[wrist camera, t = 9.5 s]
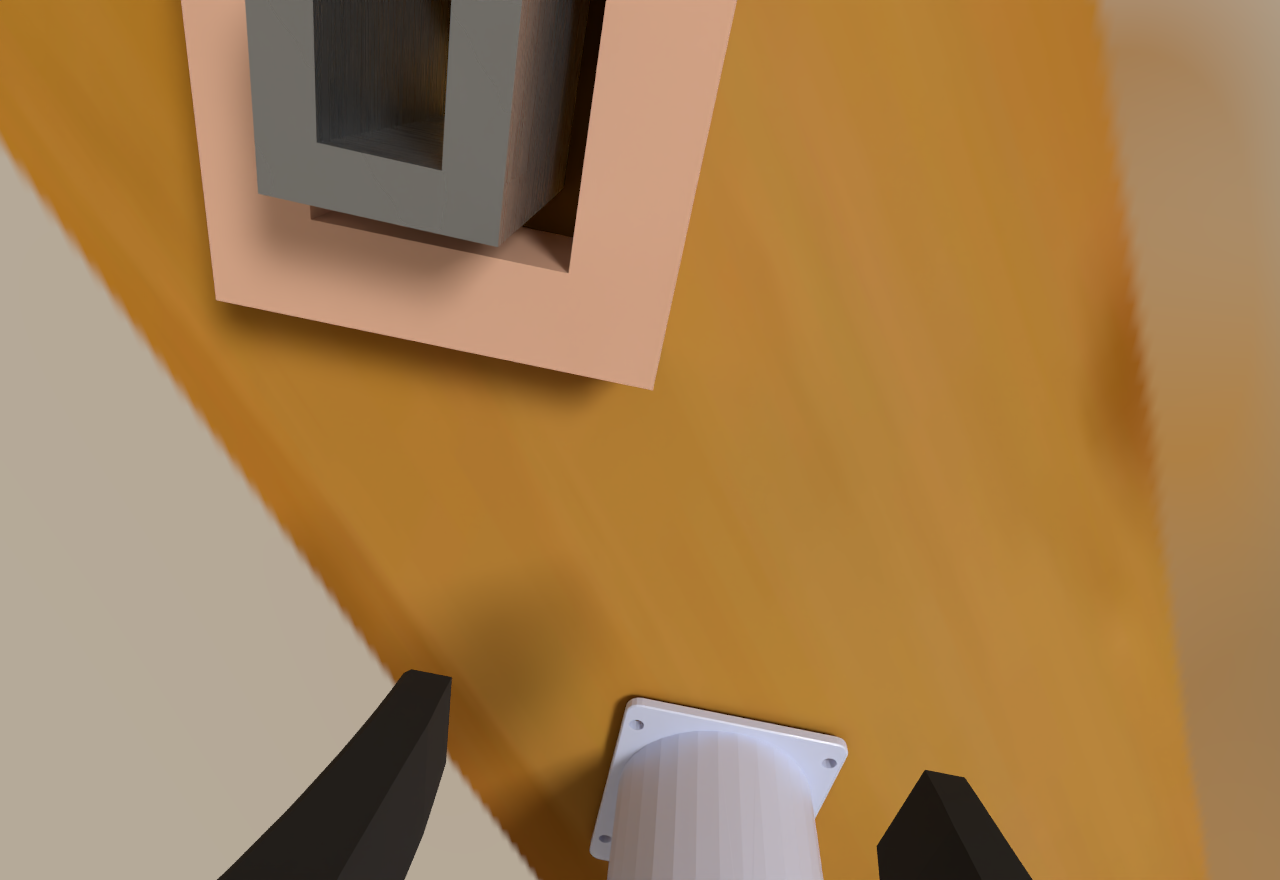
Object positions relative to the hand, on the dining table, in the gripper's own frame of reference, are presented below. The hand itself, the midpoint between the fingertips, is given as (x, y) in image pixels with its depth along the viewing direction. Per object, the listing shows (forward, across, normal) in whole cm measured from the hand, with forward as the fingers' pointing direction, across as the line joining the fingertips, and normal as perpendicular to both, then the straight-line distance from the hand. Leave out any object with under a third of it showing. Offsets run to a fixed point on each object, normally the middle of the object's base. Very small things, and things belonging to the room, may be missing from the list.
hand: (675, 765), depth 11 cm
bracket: (+11, +6, -8) cm, 15 cm away
